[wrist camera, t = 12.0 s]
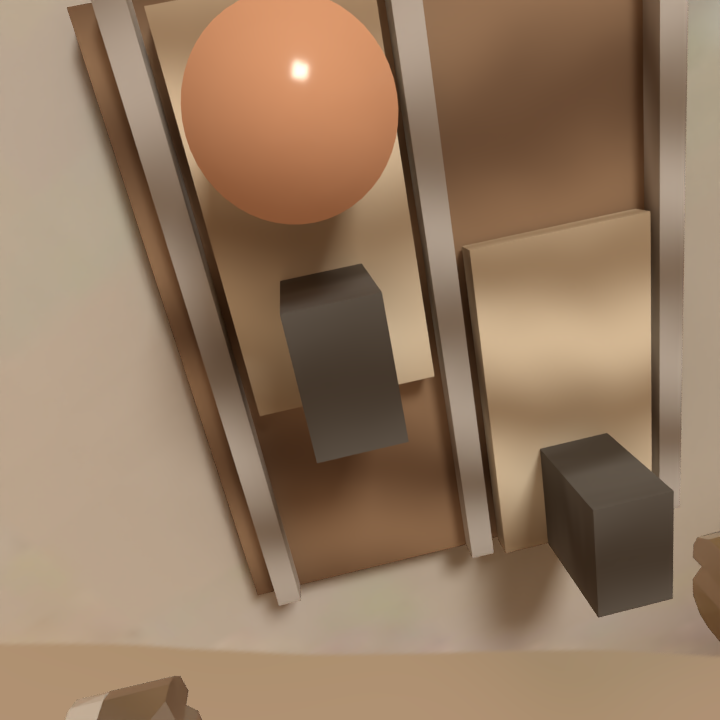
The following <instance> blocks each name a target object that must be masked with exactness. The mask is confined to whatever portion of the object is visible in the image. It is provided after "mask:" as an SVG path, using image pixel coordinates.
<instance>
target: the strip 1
mask: <svg viewBox="0 0 720 720" xmlns="http://www.w3.org/2000/svg"><path fill="white" fill-rule="evenodd" d="M237 1H239V0H174V1H169V2H164V3H158V4H153V5H148V6H144V8H145V12H146V15H147V19H148V22H149V26H150V29H151V33H152V36H153V40H154V43H155V47H156V50H157V54H158V58H159V61H160V65H161V68H162V72H163V75H164V79H165V82H166V86H167V89H168V93H169V96H170V100H171V104H172V107H173V111H174V114H175V118H176V121H177V125H178V128H179V132H180V135H181V139H182V142H183V146H184V150H185V153H186V157H187V160H188V164H189V167H190V171H191V174H192V178H193V181H194V185H195V188H196V192H197V196H198V199H199V203H200V206H201V210H202V213H203V217H204V220H205V224H206V227H207V231H208V235H209V238H210V242H211V245H212V249H213V252H214V256H215V259H216V263H217V266H218V270H219V273H220V277H221V281H222V284H223V288H224V291H225V295H226V298H227V302H228V305H229V309H230V312H231V316H232V319H233V323H234V327H235V330H236V334H237V337H238V341H239V344H240V348H241V351H242V355H243V358H244V362H245V365H246V369H247V373H248V376H249V380H250V383H251V387H252V390H253V394H254V397H255V401H256V404H257V408H258V411H259V415H260V416H263V415H267V414H271V413H276V412H280V411H285V410H289V409H293V408H298V407H302V406H303V409H304V413H305V417H306V421H307V425H308V429H309V433H310V437H311V441H312V445H313V449H314V453H315V457H316V461H317V463H320V462H325V461H329V460H333V459H338V458H342V457H346V456H350V455H355V454H359V453H363V452H368V451H372V450H376V449H380V448H385V447H389V446H393V445H398V444H402V443H406V442H409V440H408V434H407V429H406V423H405V418H404V412H403V407H402V401H401V395H400V390H399V384H403V383H407V382H412V381H416V380H421V379H425V378H429V377H434V370H433V363H432V357H431V350H430V344H429V337H428V331H427V324H426V318H425V311H424V305H423V298H422V292H421V285H420V279H419V272H418V266H417V259H416V253H415V246H414V240H413V233H412V227H411V220H410V214H409V207H408V201H407V194H406V188H405V182H404V175H403V169H402V162H401V156H400V149H399V143H398V136H397V133H396V139H395V143H394V147H393V150H392V153H391V156H390V158H389V161H388V163H387V165H386V167H385V169H384V171H383V173H382V174H381V176H380V178H379V179H378V181H377V182H376V183H375V185H374V186H373V187H372V189H371V190H370V191H369V192H368V193H367V194H366V195H365V196H364V197H363V198H362V199H361V200H359V201H358V202H357V203H356V204H354V205H353V206H352V207H350V208H349V209H347V210H345V211H344V212H342V213H340V214H338V215H336V216H334V217H331V218H329V219H326V220H322V221H319V222H315V223H308V224H281V223H274V222H271V221H267V220H263V219H260V218H258V217H255V216H253V215H250V214H248V213H246V212H245V211H243V210H241V209H239V208H238V207H236V206H235V205H233V204H232V203H231V202H229V201H228V200H227V199H225V198H224V197H223V196H222V195H221V194H220V193H219V192H218V191H217V190H216V189H215V188H214V187H213V186H212V185H211V183H210V182H209V181H208V180H207V179H206V177H205V176H204V174H203V173H202V171H201V170H200V168H199V167H198V165H197V163H196V161H195V159H194V157H193V155H192V153H191V151H190V148H189V145H188V142H187V139H186V136H185V132H184V127H183V123H182V114H181V87H182V81H183V75H184V71H185V68H186V64H187V61H188V58H189V56H190V54H191V51H192V49H193V47H194V45H195V43H196V41H197V40H198V38H199V37H200V35H201V34H202V32H203V31H204V29H205V28H206V27H207V26H208V25H209V24H210V22H211V21H212V20H213V19H214V18H215V17H216V16H218V15H219V14H220V13H221V12H222V11H223V10H224V9H226V8H227V7H229V6H231V5H232V4H234V3H235V2H237ZM330 1H332V2H334V3H336V4H338V5H340V6H341V7H343V8H344V9H346V10H347V11H348V12H350V13H351V14H353V15H354V16H355V17H356V18H357V19H358V20H359V21H360V22H361V23H362V24H363V25H364V26H365V27H366V28H367V29H368V31H369V32H370V33H371V34H372V35H373V37H374V38H375V40H376V41H377V43H378V44H379V46H380V47H381V49H382V51H383V53H384V55H385V52H384V45H383V39H382V32H381V26H380V19H379V13H378V6H377V0H330Z"/></svg>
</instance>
